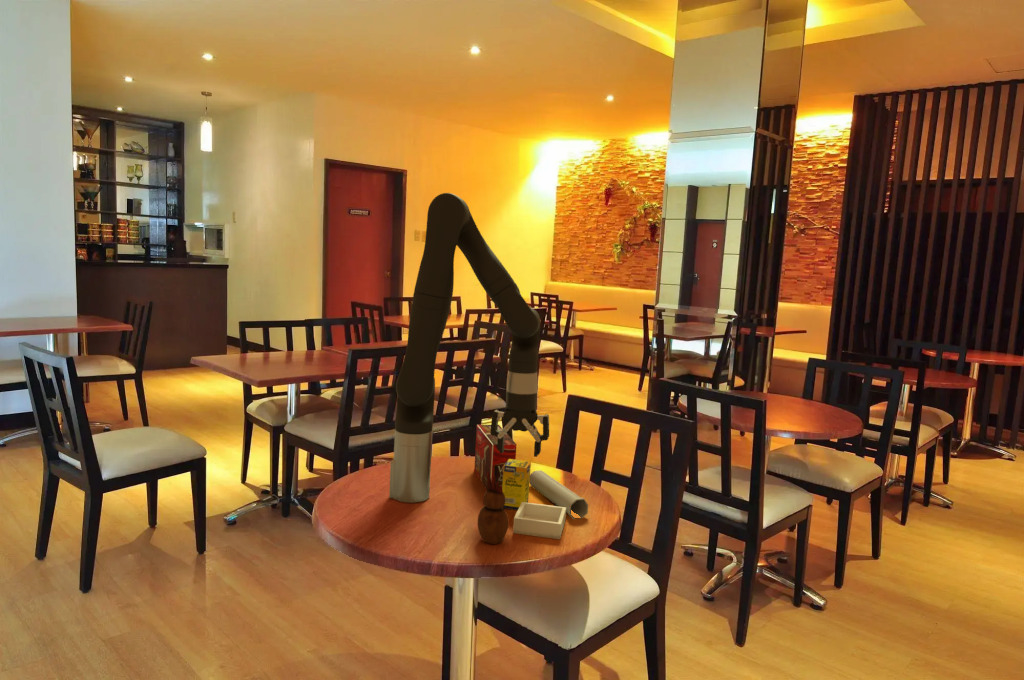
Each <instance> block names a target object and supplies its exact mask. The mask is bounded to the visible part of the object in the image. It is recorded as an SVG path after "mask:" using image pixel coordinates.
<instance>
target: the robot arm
mask: <svg viewBox="0 0 1024 680" xmlns="http://www.w3.org/2000/svg"><path fill="white" fill-rule="evenodd" d="M427 209H428V210H427V215H426V216H427V217H426V218H427V219H426V229H425V241H424V248H423V253H422V258H421V261H420V265H419V268H418V272H417V277H416V281H415V286H414V290H413V294H412V300H411V306H410V312H409V321H408V332H407V333H408V334H407V342H406V343H407V344H406V351H405V355H404V358H403V361H402V365H401V368H400V371H399V374H398V377H397V379H396V382H395V391H396V395H397V397H396V411H395V412H396V413H395V418H394V419H395V420H394V439H393V440H394V443H393V445H394V446H393V459H391V460H390V469H389V470H390V471H389V476H390V478H389V495H388V497H389V498H390V499H393V500H395V501H398V502H401V503H420V502H425V501H426V500H428V499H429V498H430V491H431V487H430V485H431V467H432V451H433V449H432V448H433V447H432V445H433V425H434V414H435V413H434V412H435V411H434V410H435V392H436V379H435V368H436V362H437V360H436V359H437V355H438V351H439V347H440V343H441V341H442V338H443V335H444V333H445V330H446V327H447V326H446V325H447V323H448V319H449V315H450V311H451V307H452V306H451V305H452V301H453V295H454V281H455V280H454V279H455V277H454V276H455V271H454V270H455V269H454V266H455V265H454V263H455V262H454V261H455V253H456V250H457V249H456V248H458V249H459V250H460V251H461V253H462V254H463V255H464V258H465V259H466V260H467V262H468V264H469V266H470V268H471V270H472V271H473V273H474V275H475V276H476V279H477V280H478V282H479V283H480V285H481V287H482V288H483V289H484V291H485V293H486V294H487V295H488V297H489V298H490V300H491V301H492V303H494V304H495V306H496V308H497V310H498V311H499V313H500V315H501V317H502V319H503V320H504V323H505V324H506V326H507V328H508V329H509V330H510V331H511V347H510V350H509V354H508V355H509V356H508V371H507V377H506V393H505V394H506V395H505V410H504V411H499V410H498V409H495V410H494V411H493V412H492V414H491V424H490V425H491V432H490V434H491V435H494V436H496V437H497V438H498V444H497V449H498V451H500V453H503V452H504V440H505V437H504V435H505V434H506V433H507V432H508V431H509V430H510V429H511V430H512V431H514V432H515V431H516V432H518V431H520V432H524V433H525V432H527V431H528V433H529V435H531V436H532V437H533V439H534V440H535V441H534V444H533V445H534V446H533V448H534V449H533V457H534V458H535V457H536V458H537V457H538V456H539V455H540V453H541V452H542V442H544V441H547V440H548V439H549V437H550V415H549V414H547V413H546V414H538V412H537V407H538V406H537V403H538V388H539V386H538V385H539V384H538V383H539V382H538V381H539V380H538V363H539V356H538V354H539V353H538V348H539V343H540V342H539V341H540V332H541V321H542V320H541V317H540V314H539V313H538V311H537V310H536V309H535V308H532V307H530V305H529V304H528V302H527V301H526V300H525V299H524V297H523V296H522V295H521V291H520V289H519V286H518V285H517V283H516V282H515V280H514V278H513V277H512V276H511V274H510V273H509V272H508V270H507V269H506V267H505V266H504V265H503V264H502V262H501V261H500V260H499V258H498V257H497V256H496V254H495V253H494V251H493V250H492V249H491V248H490V246H489V244H488V243H487V241H486V240H485V238H484V237H483V235H482V233H481V231H480V230H479V228H478V225H477V224H476V222H475V219H474V218H473V215H472V213H471V211H470V208H469V206H468V204H467V202H466V201H465V200H464V199H463V198H461V196H458V195H456V194H454V193H451V192H443V193H440V194H438V195H436V196H435V197H434V198H433V199H432V200H431V202H430V204H429V206H428V208H427ZM502 418H503V419H504V420H505V422H506V425H504V427H502V430H501V431H499V430H497V428H498V425H499V421H500V420H501V419H502ZM537 421H539V423H540V424H541V425H542V434H541V433H540V432H539V430H538V428H537V426H536V425H535V424H536V422H537Z"/></svg>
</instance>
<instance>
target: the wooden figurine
mask: <svg viewBox="0 0 1024 680" xmlns="http://www.w3.org/2000/svg"><path fill="white" fill-rule="evenodd" d="M482 502H483V506H482V507H481V508H480V510H479V512H478V515H477V530H478V533H479V536H480V539H481V540H482V541H483V542H485V543H487V544H491V545H497V544H500V543H501V542H503V541H504V539H505V538H506V535H507V533H508V530H509V516H508V514H507V513H508V512H506V510H505V508H503V507H504V505H505V495H504V493H503V492H502V486H500V487H499V481H498V482H497V483H496V479H495V476H494V477H493V481H492V482H491V477H490V472H488V478H487V490H486V491H485V493H484V495H483V501H482Z"/></svg>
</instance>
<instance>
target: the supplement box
mask: <svg viewBox="0 0 1024 680" xmlns="http://www.w3.org/2000/svg"><path fill="white" fill-rule="evenodd" d="M531 466H532V461H530V460H529V461H528V460H521V459H516V460H515V459H508V461H507V462H506V463H505V464H504V467H503V483H502V492H503V493H504V495H505V505H504V507H503V509H506V508H507V510H513V509H514V511H515V510H516V511H518V509H519V507H520V505H521V503H522V502H527V503H529V494H530V492H529V491H530V483H529V482H530V475H531Z"/></svg>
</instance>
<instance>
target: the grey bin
mask: <svg viewBox="0 0 1024 680" xmlns="http://www.w3.org/2000/svg"><path fill="white" fill-rule="evenodd" d="M566 516H567V513H566V507H559V506H557V505H549V504H542V503H535V502H534V503H533V502H528V503H527V502H522V503H521V505H520V507H519V509H518V510H516V512H515V515H514V517H513V527H512V533H513V534H517V535H527V536H531V535H532V537H533V536H534V537H540V538H545V539H546V538H549V539H556V540H561V538H562V537H561V536H562V534H563V530H564V527H565V523H566V518H567V517H566Z"/></svg>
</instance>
